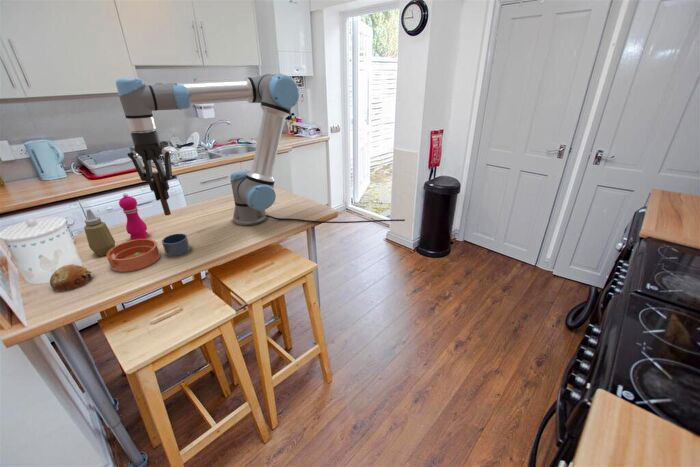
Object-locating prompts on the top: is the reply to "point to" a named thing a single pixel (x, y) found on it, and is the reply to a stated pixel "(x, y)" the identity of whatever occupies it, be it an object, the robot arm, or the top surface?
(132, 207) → the pepper mill
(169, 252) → the utensil pot
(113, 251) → the bowl
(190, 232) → the top surface
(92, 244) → the squeeze bottle
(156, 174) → the stick
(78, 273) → the bread roll
